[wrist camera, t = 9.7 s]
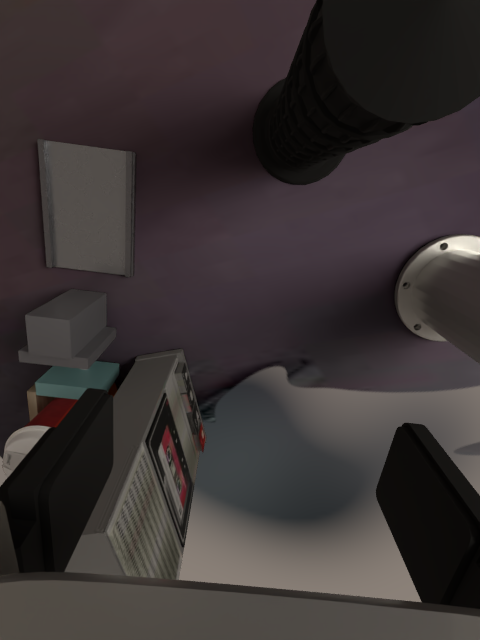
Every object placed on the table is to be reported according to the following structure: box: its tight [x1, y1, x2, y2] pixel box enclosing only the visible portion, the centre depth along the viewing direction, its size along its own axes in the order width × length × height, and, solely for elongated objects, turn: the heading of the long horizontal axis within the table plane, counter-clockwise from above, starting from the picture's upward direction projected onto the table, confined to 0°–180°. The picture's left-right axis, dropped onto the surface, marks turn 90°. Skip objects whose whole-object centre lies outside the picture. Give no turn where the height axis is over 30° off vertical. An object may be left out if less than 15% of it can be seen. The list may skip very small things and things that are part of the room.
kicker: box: [18, 289, 119, 400], centre depth 37 cm, size 7×11×9 cm, turn 173°
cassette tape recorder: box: [64, 349, 206, 580], centre depth 34 cm, size 14×6×25 cm, turn 11°
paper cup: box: [2, 382, 117, 477], centre depth 39 cm, size 8×8×14 cm
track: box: [37, 139, 136, 277], centre depth 37 cm, size 10×13×1 cm
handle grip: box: [253, 0, 480, 185], centre depth 23 cm, size 10×26×10 cm
